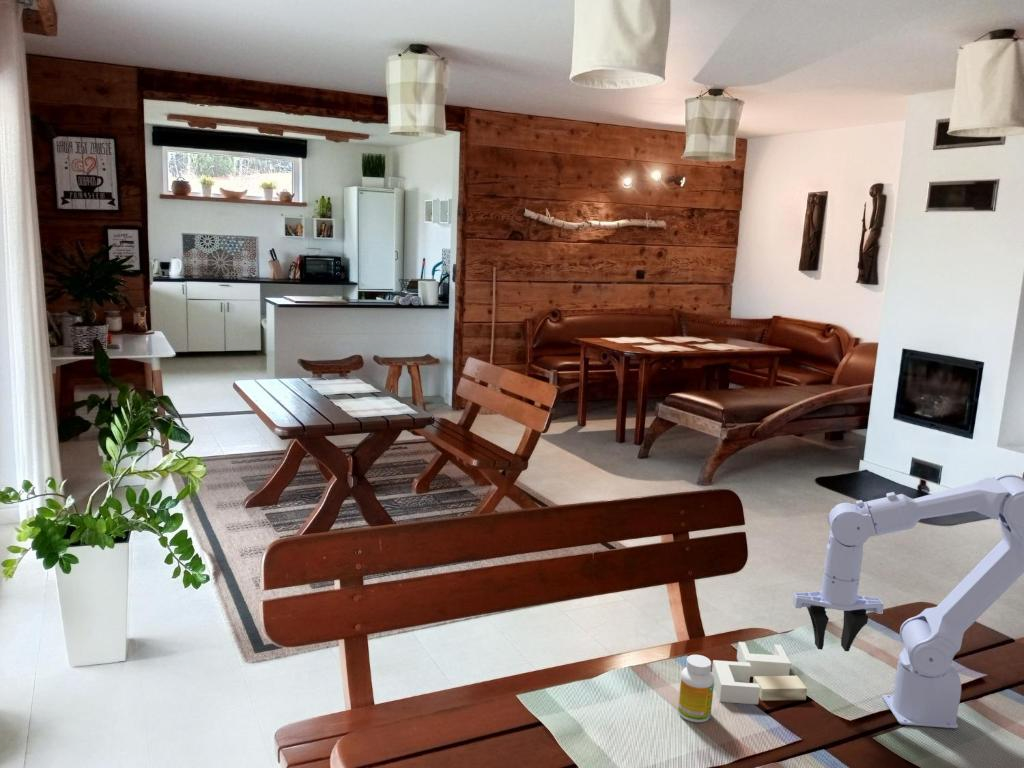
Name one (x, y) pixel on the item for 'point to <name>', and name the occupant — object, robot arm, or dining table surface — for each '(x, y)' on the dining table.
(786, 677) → the beige rectangular block
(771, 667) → the white u-shaped block
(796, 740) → the dining table surface
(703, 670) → the supplement bottle
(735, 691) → the end cap
